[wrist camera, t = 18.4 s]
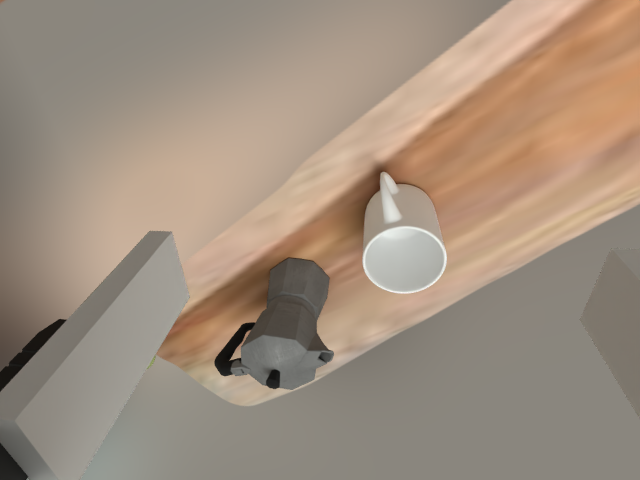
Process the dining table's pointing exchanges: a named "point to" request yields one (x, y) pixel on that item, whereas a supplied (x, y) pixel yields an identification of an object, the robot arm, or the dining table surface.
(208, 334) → the dining table surface
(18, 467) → the robot arm
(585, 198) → the dining table surface
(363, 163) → the dining table surface
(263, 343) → the coffeepot
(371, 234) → the mug
